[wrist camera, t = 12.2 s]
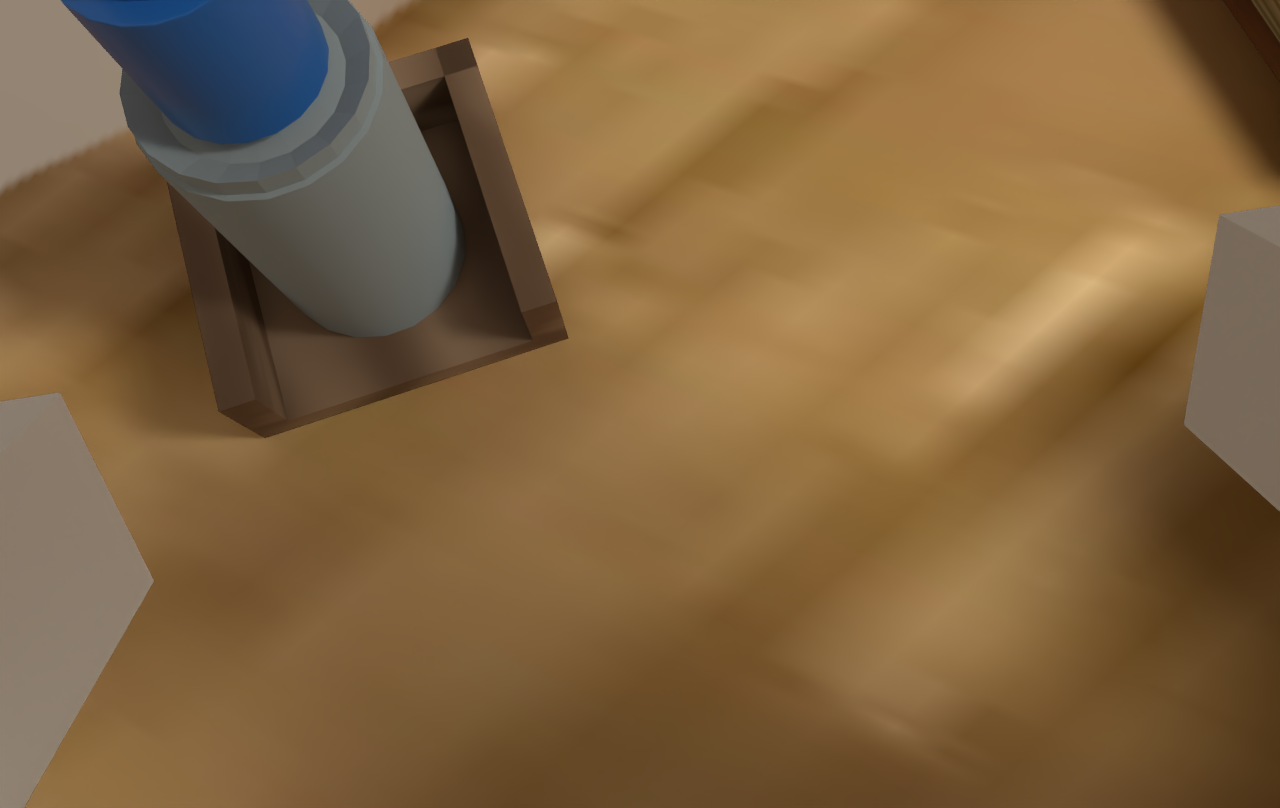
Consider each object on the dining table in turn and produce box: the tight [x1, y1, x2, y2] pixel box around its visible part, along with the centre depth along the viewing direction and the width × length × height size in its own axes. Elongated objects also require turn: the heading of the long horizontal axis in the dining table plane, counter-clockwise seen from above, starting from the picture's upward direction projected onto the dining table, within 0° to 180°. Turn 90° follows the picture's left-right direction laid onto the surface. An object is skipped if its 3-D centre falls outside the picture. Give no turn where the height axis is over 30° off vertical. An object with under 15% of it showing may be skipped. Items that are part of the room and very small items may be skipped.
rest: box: [167, 38, 568, 438], centre depth 45 cm, size 15×14×5 cm
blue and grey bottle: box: [61, 0, 465, 338], centre depth 34 cm, size 9×9×25 cm
